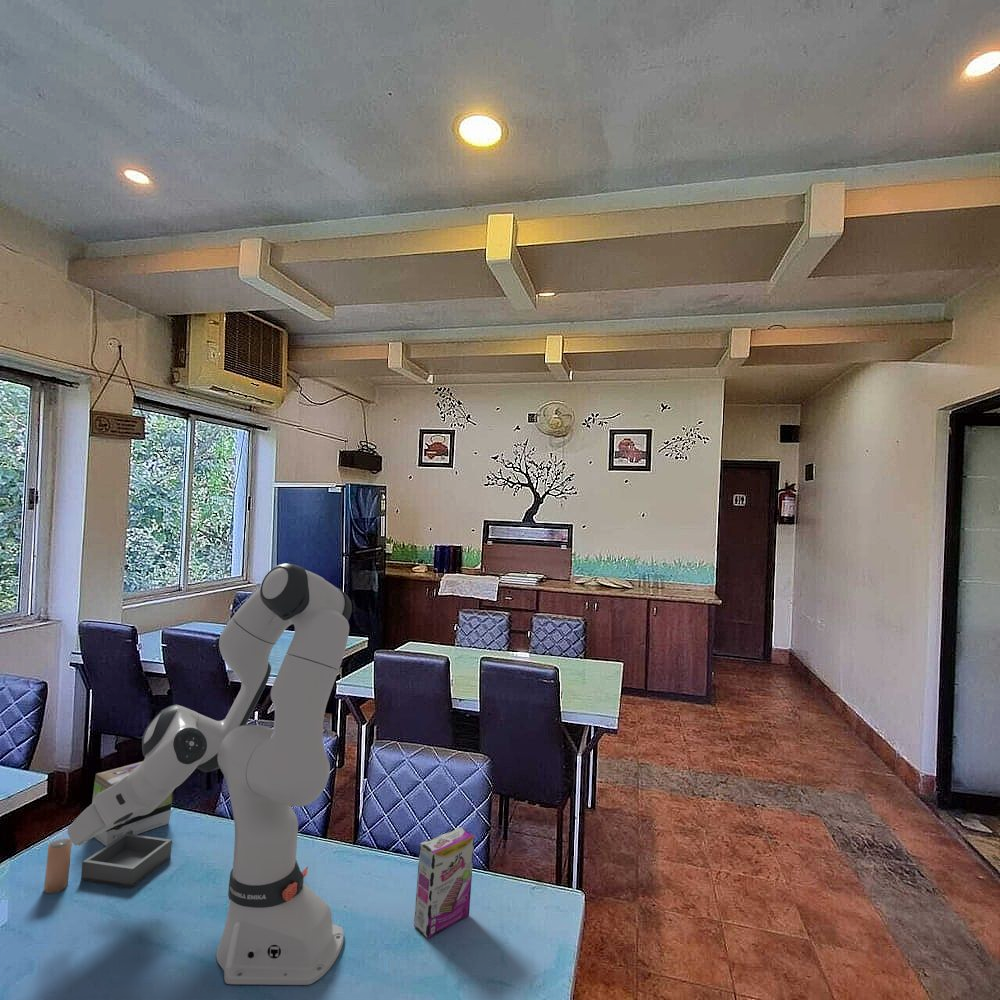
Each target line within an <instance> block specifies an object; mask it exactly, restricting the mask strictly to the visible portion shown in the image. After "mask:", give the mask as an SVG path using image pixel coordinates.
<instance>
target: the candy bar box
mask: <svg viewBox="0 0 1000 1000" xmlns="http://www.w3.org/2000/svg"><path fill="white" fill-rule="evenodd" d="M475 838H476V837H475V835H473V834H472V833H471V832H469V831H468V830H466V829H465V828H463V827H460V826H459V827H456V829H453V830H450V831H447V832H446V833H444V834H443V833H442V834H440V835H438V836H435V837H433V838H430V839H427V840H425V841H423V842H420V843H419V853H418V854H419V855H418V868H417V879H416V880H417V883H416V894H415V906H414V920H413V921H414V922H413V927H414V928H415V929H417V931H419V932H420V933H421V934H422V936H423V937H425V938H426V939H429V938H431V937H433V936H435V935H436V934H438V933H440V932H441V931H443V930H445V929H447V928H449V927H450V926H452V925H454V924H456V923H458V922H460V921H462V920H463V919H465V918H467V917H469V916H470V907H471V906H470V905H471V904H470V903H471V895H472V881H473V878H472V876H473V866H474V865H473V863H474V850H475V849H474V848H475Z"/></svg>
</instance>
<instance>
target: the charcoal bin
mask: <svg viewBox="0 0 1000 1000" xmlns="http://www.w3.org/2000/svg"><path fill="white" fill-rule="evenodd" d="M172 844H173V839H168V838H163V837H157V836H156V837H155V836H148V835H141V834H137V835H134V834H127V833H126V834H124V835H122V836H121V837H119V838H118V839H116V840H115V841H113V842H112V843H110V844H109V845H107V846H104V847H103V848H101V849H100V850H98V851H96V852H95V853H93V854H92V855H91V856H89V857H87V858H86V859H84V860H83V861H82V862H81V863H82V865H81V874H80V875H81V877H80V882H86V883H94V884H98V885H105V886H106V885H107V886H113V887H119V888H127V889H132V888H134V887H135V886H136V885H137V884H138V883H140V882H142V881H143V879H145V878H146V877H148V876H149V875H150V874H151V873H152V872H154V871H155V870H156V869H158V868H159V867H160V866H161V865H163V864H164V863H165V862H167V861H168V860H170V859H171V856H172V847H173V846H172Z"/></svg>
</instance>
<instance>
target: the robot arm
mask: <svg viewBox="0 0 1000 1000" xmlns="http://www.w3.org/2000/svg"><path fill="white" fill-rule="evenodd" d="M260 585H261V586H260V587H259V588H258V589H257V590H255V592H253V594H251V595H250V596H249V597H248V598H247V599H246V600H245V601H244V602H243V603H242V605H240V607H239V608H238V609H237V611H236V612H235V613H234V614H233V615H232V617H231V618H230V620H229V621H228V622H227V624H225V626H224V627H223V630H222V632H221V634H220V635H219V639H218V648H219V652H220V655H221V657H222V658H223V661H224V662H225V663H226V665H227V666H228V668H229V669H230V670H231V671H232V672H233V673H234V674H235V676H236V677H237V678H238V679H239V681H240V683H241V685H240V686H241V687H240V690H239V691H238V694H237V695H236V697H235V699H234V701H233V703H232V705H231V707H230V709H229V710H228V713H227V714H226V716H225V718H224V719H222V720H216V719H213V718H211V717H208V716H206V715H203V714H201V713H198V712H197V711H195V710H192V709H191V708H188V707H185V706H183V705H179V704H173V705H169V706H167V707H165V708H164V709H161V710H160V711H159V712H158V713H157V714H156V715H155V716H154V717H153V718H152V720H151V721H150V722H149V723H148V725H147V726H146V727H145V729H144V732H143V735H142V737H141V738H142V739H141V750H142V755H143V757H144V759H143V760H142V761H143V763H142V764H140V765H138V766H137V767H136V768H135V769H134V770H133V771H132V772H131V773H130V774H128V775H126V776H125V777H124V778H123V779H122V780H120V781H119V782H117V783H116V784H114V785H112V786H111V787H109V788H107V789H105V790H104V791H102V792H100V793H99V794H97V795H96V796H95V797H94V799H93V798H92V799H93V801H94V803H93V804H92V803H91V804H89V806H87V807H86V808H85V809H84V810H83V811H82V812H81V813H80V814H79V815H78V816H77V817H76V818H75V819H74V820H73V822H72V823H70V825H69V826H68V828H67V835H68V839H70V840H71V841H72V844H73V845H74V846H82V845H84V844H86V843H87V842H88V841H90V840H91V839H92V838H94V837H95V836H97V835H99V834H101V833H103V832H105V831H107V830H109V829H111V828H113V827H115V826H117V825H119V824H121V823H122V824H124V823H126V822H128V821H130V820H131V819H132V818H134V817H137V816H143V815H147V814H149V813H151V812H152V811H153V810H154V809H156V808H157V807H158V806H159V805H160V804H161V803H162V802H163V801H164V800H165V799H166V798H167V797H168V796H169V795H170V794H171V793H172V791H173V792H174V790H175V789H176V788H178V787H179V786H180V785H182V784H183V783H184V782H185V781H186V780H187V779H188V778H189V777H190V776H191V774H193V772H194V771H195V770H196V769H198V770H200V771H202V772H204V773H211V772H213V771H216V770H219V769H220V771H221V772H222V774H223V777H224V779H225V782H226V785H227V790H228V793H229V797H230V804H231V805H230V806H231V809H232V816H233V823H234V845H233V846H234V847H233V848H234V849H233V862H232V864H233V865H232V868H231V871H230V874H229V882H228V892H227V893H228V896H227V897H228V900H229V902H228V909H227V914H226V920H225V924H224V928H223V932H222V935H221V939H220V941H219V944H218V947H217V949H216V955H215V956H216V962H217V964H219V966H220V968H222V970H223V979H224V983H226V984H227V985H275V986H277V985H278V986H281V985H284V986H285V985H287V986H288V985H289V986H296V985H297V986H301V985H303V986H307V985H312V984H313V983H315V982H317V981H319V980H320V979H321V978H323V976H324V975H326V974H327V972H328V971H329V970H330V969H331V968H332V966H333V965H334V964H335V962H336V960H337V959H338V957H339V955H340V953H341V950H342V948H343V946H344V941H345V940H344V938H345V936H344V929H343V928H342V927H341V926H340V925H337V924H335V923H333V916H332V915H333V914H332V910H331V908H330V906H329V903H327V902H326V901H325V900H323V898H321V897H320V896H319V895H318V894H317V893H316V892H314V891H313V889H311V888H310V887H309V886H307V884H305V883H304V879H305V877H306V876H307V875H308V868H309V867H308V866H306V867H305V868H304V870H302V871H301V869H300V867H299V863H298V860H297V859H296V858H297V848H298V846H297V845H298V834H299V833H298V832H299V822H298V817H297V815H296V813H295V811H294V809H293V807H298V808H299V807H305V806H309V805H310V804H312V803H314V802H315V801H316V800H317V799H318V798H319V797H320V795H321V794H322V793H323V792H324V791H325V789H326V786H327V784H328V782H329V778H330V772H331V771H330V770H331V766H330V765H331V764H330V761H329V757H328V755H327V754H326V750H325V746H324V720H325V719H324V718H325V714H326V708H327V705H328V702H329V698H330V696H331V692H332V690H333V687H334V684H335V682H336V679H337V676H338V673H339V671H340V667H341V665H342V662H343V658H344V655H345V652H346V648H347V643H348V639H349V635H350V634H349V633H350V624H349V620H350V618H351V615H352V612H353V611H352V610H353V605H352V602H351V599H350V597H349V596H348V595H347V594H346V592H344V591H343V590H342V589H341V588H339V587H336V586H335V585H333V584H332V583H330V582H329V581H327V580H326V579H325V578H324V577H323V576H320V575H319V574H317V573H314V572H313V571H310V570H307V569H305V568H303V567H302V566H300V565H298V564H297V565H296V564H293V563H280V564H278V565H276V566H274V567H273V568H271V569H270V571H268V572H267V574H266V575H265V576H264V578H263V579H262V582H261V584H260ZM292 625H293V627H294V634H293V636H292V637H293V638H292V640H291V642H290V643H289V647H288V649H287V651H286V654H285V655H284V657H283V660H282V663H281V665H280V668H279V670H278V672H277V675H276V677H275V680H274V682H273V684H272V687H271V688H270V699H271V701H272V704H273V707H274V722H273V727H272V728H271V727H268V726H265V725H261V724H260V725H259V724H248V721H249V720H250V717H251V715H252V714H253V712H254V710H255V708H256V705H257V704H258V702H259V700H260V699H261V695H262V694H263V691H265V688H266V685H267V684H268V681H269V678H270V675H271V671H272V665H271V664H270V662H269V659H270V654H271V651H272V649H273V648H274V646H275V645H276V643H277V641H278V640H279V639H280V637H281V636H282V635H283V633H284V632H285V631H286V630H287V628H289V627H290V626H292Z"/></svg>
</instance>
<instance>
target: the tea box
mask: <svg viewBox="0 0 1000 1000" xmlns="http://www.w3.org/2000/svg"><path fill="white" fill-rule="evenodd" d="M143 761H144V760H142V761H138V762H135V763H131V764H127V765H124V766H121V767H117V768H112V769H109V770H105V771H101V772H97V773H95V776H94V783H93V784H94V785H93V792H92V793H93V794H92V799H91V800H92V801H91V804H93V803H94V801H93V799H94V797H95V796H96V795H97V794H99V793H100V792H102V791H104V790H105V789H107V788H109V787H111V786H112V785H114V784H116V783H117V782H119V781H120V780H122V779H123V778H124V777H125V776H126V775H128V774H130V773H131V772H132V771H133V770H134V769H135V768H136V767H137V766H138V765H140V764H142V763H143ZM173 792H174V790H173V791H172V793H171V794H170V795H169V796H168V797H167V798H166V799H165V800H164V801H163V802H162V803H161V804H160V805H159V806H158V807H157V808H156V809H154V810H153V811H152V812H151V813H149V814H147V815H143V816H137V817H134V818H132V819H131V820H130V821H128V822H126V823H124V824H122V823H121V824H119V825H117V826H115V827H113V828H111V829H109V830H107V831H105V832H103V833H101V834H99V835H97V836H95V837H93V838H94V839H95V840H97V841H98V842H99V843H101V844H102V845H104V847H106V846H107V845H109V844H110V843H112V842H113V841H115V840H116V839H118V838H119V837H121V836H122V835H124V834H126V833H127V834H134V835H141V834H142V833H146V832H148V831H151V830H153V829H156V828H159V827H163V826H166V825H168V824H169V823H170V820H171V815H172V814H171V812H172V805H173V804H172V803H173Z"/></svg>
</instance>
